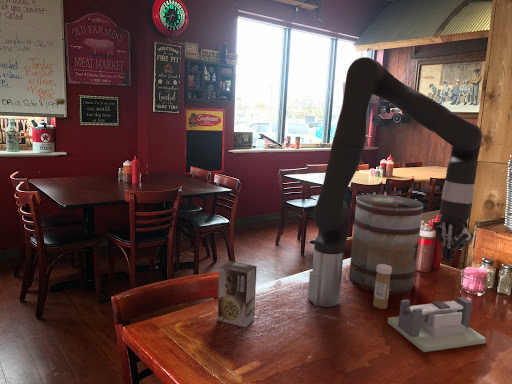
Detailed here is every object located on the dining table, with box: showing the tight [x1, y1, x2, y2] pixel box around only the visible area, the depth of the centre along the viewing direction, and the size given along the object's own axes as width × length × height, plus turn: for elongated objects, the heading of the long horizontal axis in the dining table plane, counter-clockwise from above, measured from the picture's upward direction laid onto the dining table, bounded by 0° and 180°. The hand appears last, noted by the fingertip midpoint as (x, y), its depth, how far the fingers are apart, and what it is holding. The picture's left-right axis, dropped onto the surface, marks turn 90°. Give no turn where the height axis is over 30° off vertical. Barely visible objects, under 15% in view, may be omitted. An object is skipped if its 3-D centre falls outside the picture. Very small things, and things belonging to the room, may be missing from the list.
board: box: [387, 296, 487, 353], centre depth 121 cm, size 20×16×9 cm
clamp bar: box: [407, 300, 463, 314], centre depth 120 cm, size 16×4×1 cm, turn 107°
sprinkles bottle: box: [372, 264, 392, 310], centre depth 135 cm, size 5×5×13 cm
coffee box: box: [217, 260, 257, 328], centre depth 122 cm, size 9×6×16 cm
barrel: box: [348, 194, 424, 295], centre depth 154 cm, size 22×22×30 cm
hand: (447, 260), depth 118 cm, fingers closed
